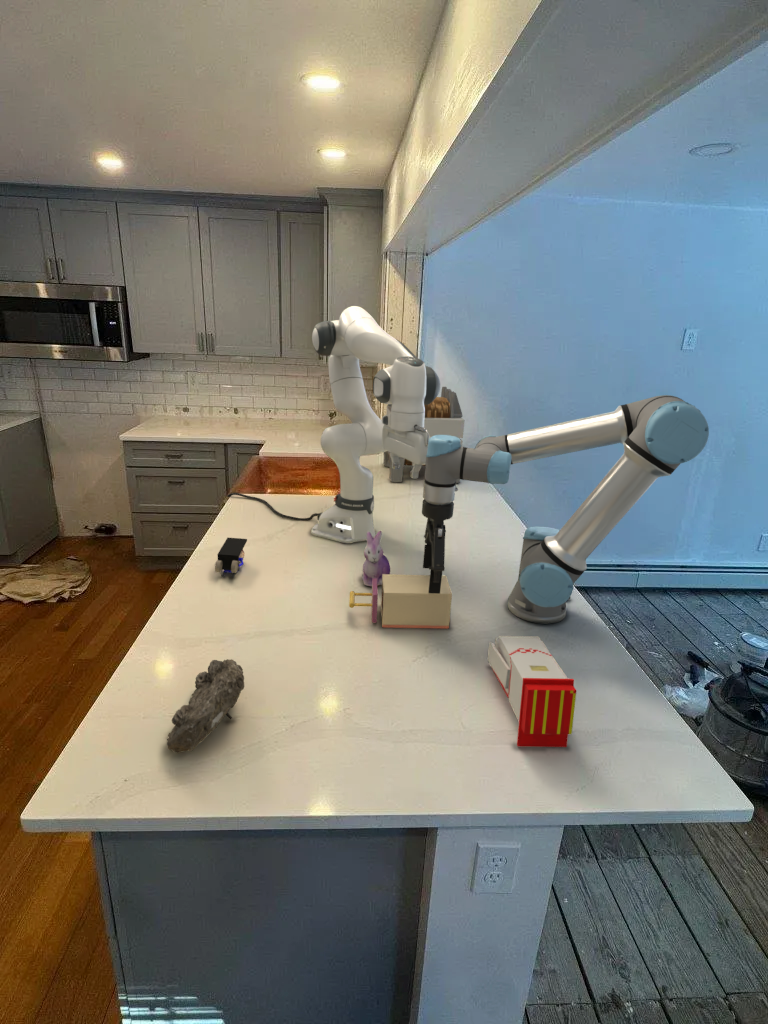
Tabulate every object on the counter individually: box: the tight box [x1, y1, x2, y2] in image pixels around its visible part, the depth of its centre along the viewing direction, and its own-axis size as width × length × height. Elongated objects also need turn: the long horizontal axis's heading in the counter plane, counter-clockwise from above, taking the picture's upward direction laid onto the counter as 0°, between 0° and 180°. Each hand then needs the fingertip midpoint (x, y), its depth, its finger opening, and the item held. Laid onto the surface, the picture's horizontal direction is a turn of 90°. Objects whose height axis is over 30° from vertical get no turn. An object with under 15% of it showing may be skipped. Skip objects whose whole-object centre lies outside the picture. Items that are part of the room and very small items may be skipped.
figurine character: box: [214, 537, 248, 578], centre depth 166 cm, size 7×8×15 cm
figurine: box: [361, 530, 391, 587], centre depth 162 cm, size 9×10×15 cm
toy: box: [486, 635, 577, 748], centre depth 115 cm, size 12×13×30 cm
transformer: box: [383, 386, 465, 484], centre depth 268 cm, size 34×33×41 cm
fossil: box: [166, 658, 245, 754], centre depth 106 cm, size 22×10×15 cm
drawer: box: [348, 578, 384, 624], centre depth 144 cm, size 21×9×8 cm, turn 92°
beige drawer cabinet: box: [380, 573, 453, 629], centre depth 145 cm, size 17×10×10 cm, turn 92°
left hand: (404, 473), depth 152 cm, fingers open, 8 cm apart
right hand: (430, 579), depth 143 cm, fingers open, 13 cm apart
